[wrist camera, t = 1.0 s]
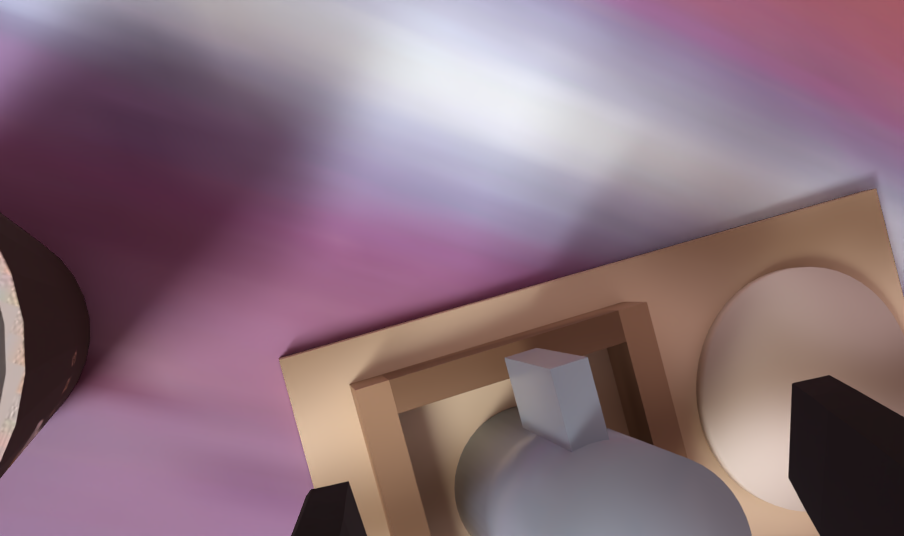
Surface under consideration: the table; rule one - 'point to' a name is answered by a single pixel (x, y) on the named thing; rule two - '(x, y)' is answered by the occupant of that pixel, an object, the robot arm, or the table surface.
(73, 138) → the table surface
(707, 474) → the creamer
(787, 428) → the jug board
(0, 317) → the coffee mug
